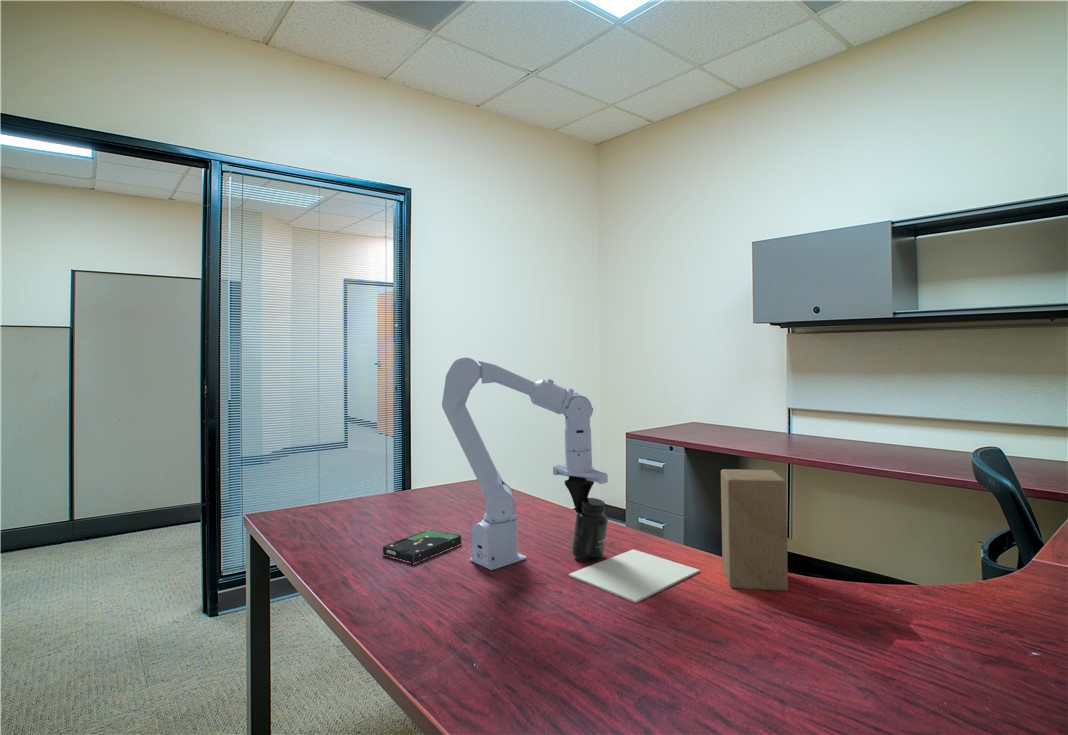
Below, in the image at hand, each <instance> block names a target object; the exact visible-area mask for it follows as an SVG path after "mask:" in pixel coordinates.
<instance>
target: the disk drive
mask: <svg viewBox="0 0 1068 735" xmlns="http://www.w3.org/2000/svg"><path fill="white" fill-rule="evenodd" d="M459 544H461V545H462V535H459V534H456V533H452V532H451V533H450V532H447V531H445V532H442V531H437V530H435V529H434V528H433V529H429V530H424V531H422V532H419V533H416V534H414V535H413V534H412V535H411V536H408V537H405V538H402V539H399V540H395V541H394V542H391V543H388V544H386V545H384V546H382V554H384V555H388V556H391V557H395V558H398V559H402V560H405V561H409V562H411V563H415V562H418V561H421V560H423V559H425V558H427V557H430V556H432V555H435V554H438V553H440V552H442V551H444V550H447V549H449V548H451V547H455V546H457V545H459ZM438 555H439V554H438Z"/></svg>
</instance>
